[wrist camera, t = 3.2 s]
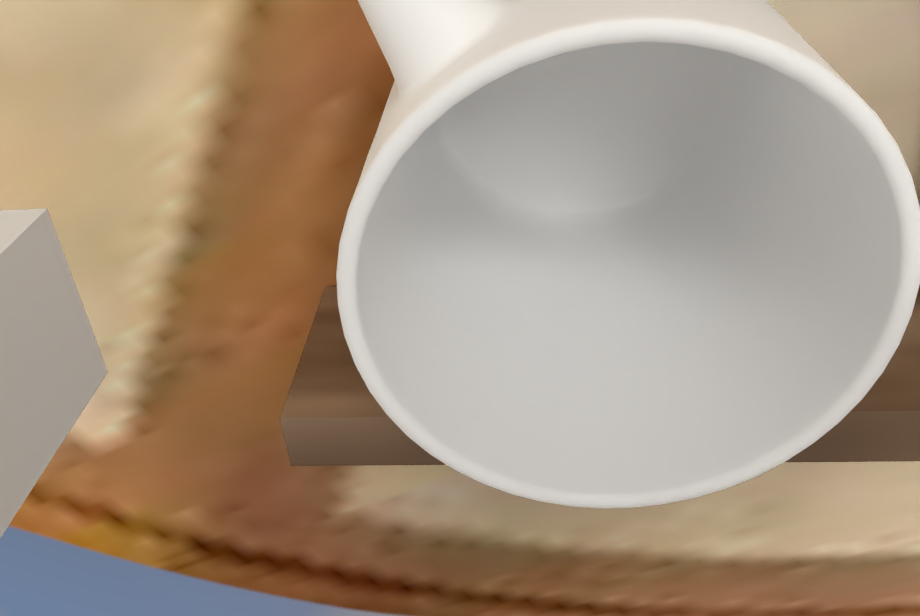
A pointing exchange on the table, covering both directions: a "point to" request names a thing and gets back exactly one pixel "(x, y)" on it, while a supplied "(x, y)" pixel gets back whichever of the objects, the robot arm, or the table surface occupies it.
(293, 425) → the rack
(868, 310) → the mug
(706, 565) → the table surface
